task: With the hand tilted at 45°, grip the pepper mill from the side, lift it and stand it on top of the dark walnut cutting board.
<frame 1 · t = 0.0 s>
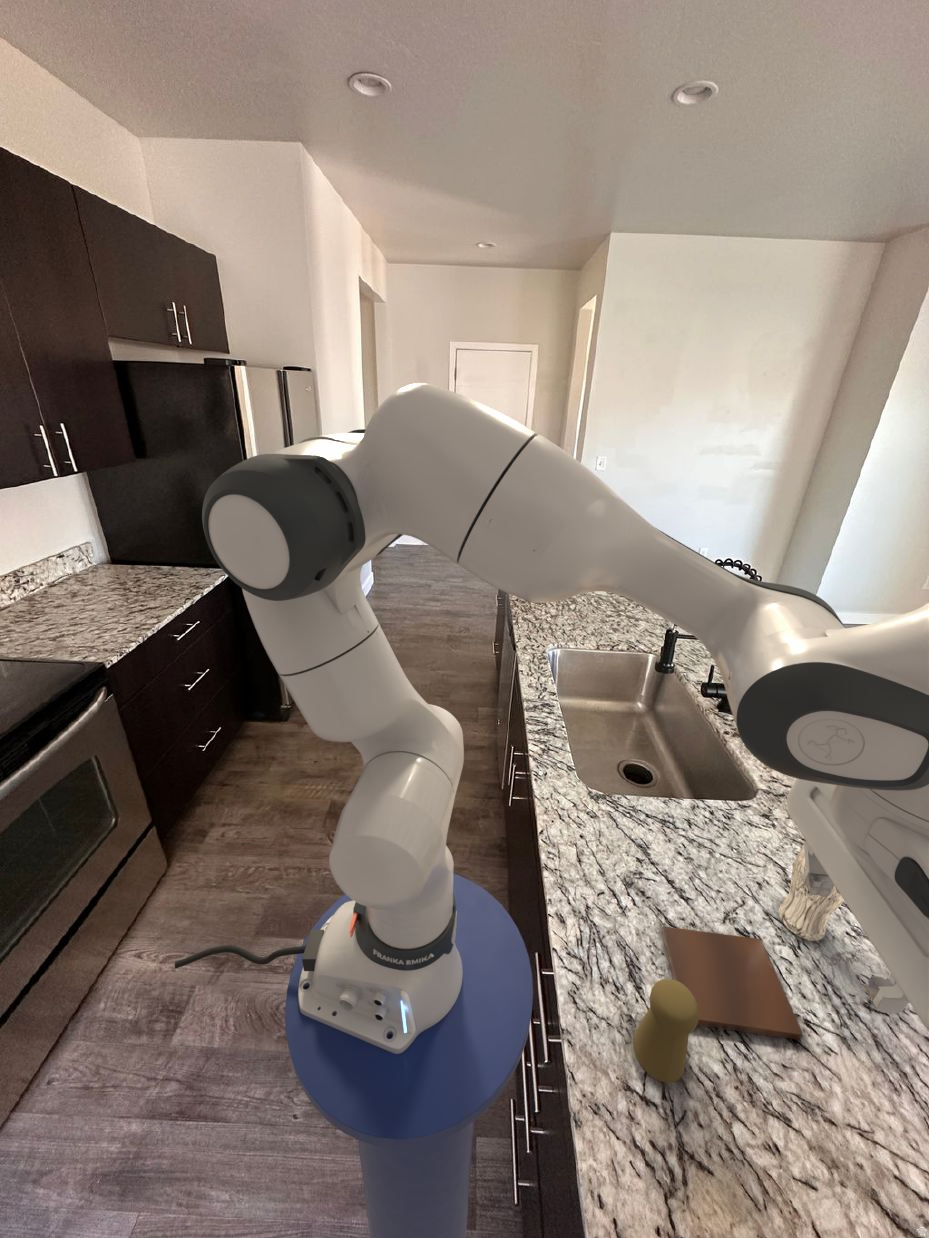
hand: (844, 939, 41), 31 cm above the countertop, tool pointing down, fingers open, 8 cm apart
beer glass: (800, 922, 75), on the countertop
pepper mill: (658, 1052, 59), on the countertop
cutting board: (724, 980, 67), on the countertop
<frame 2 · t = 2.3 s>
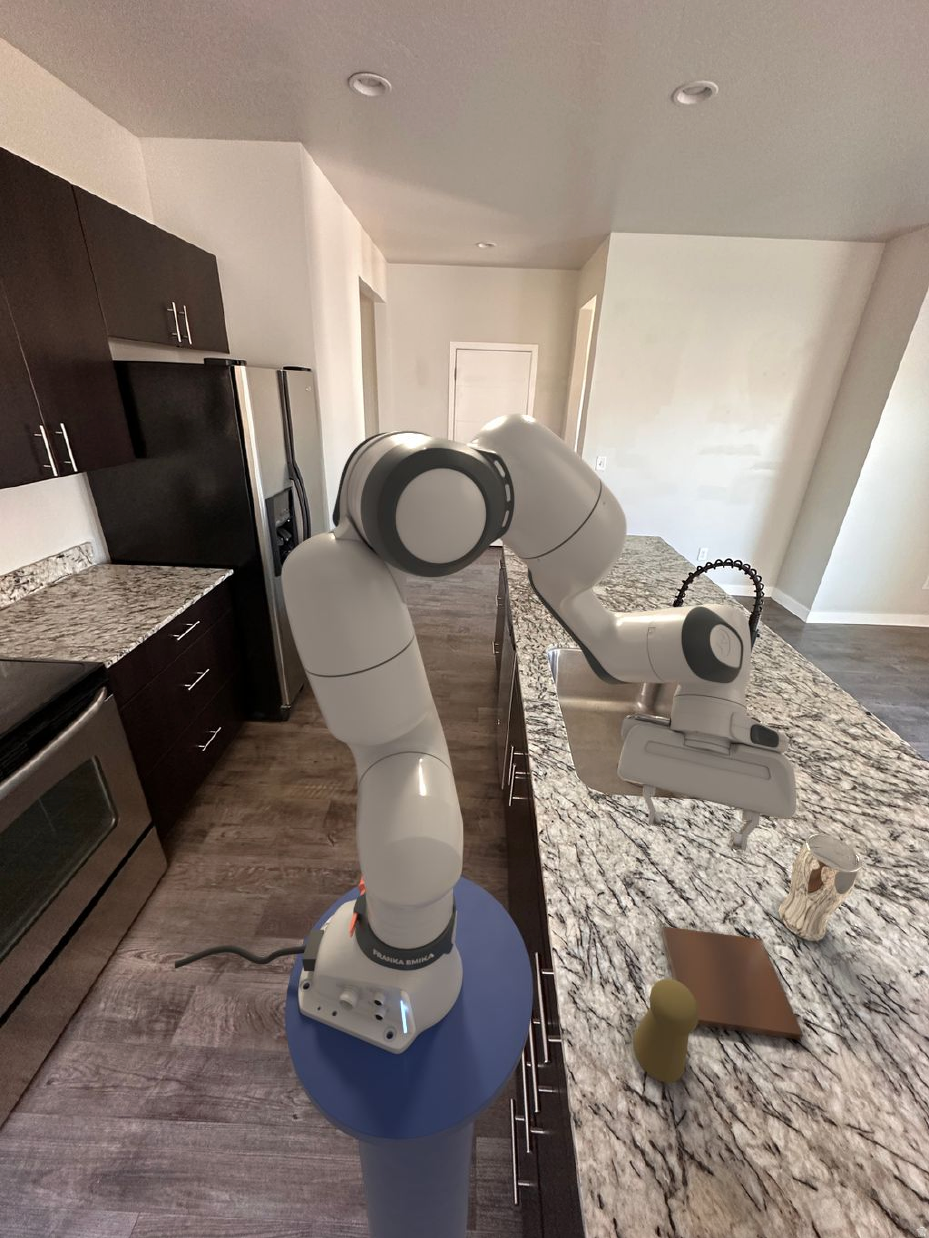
hand: (694, 837, 60), 24 cm above the countertop, tool tilted 45°, fingers open, 8 cm apart
nothing on the countertop moved.
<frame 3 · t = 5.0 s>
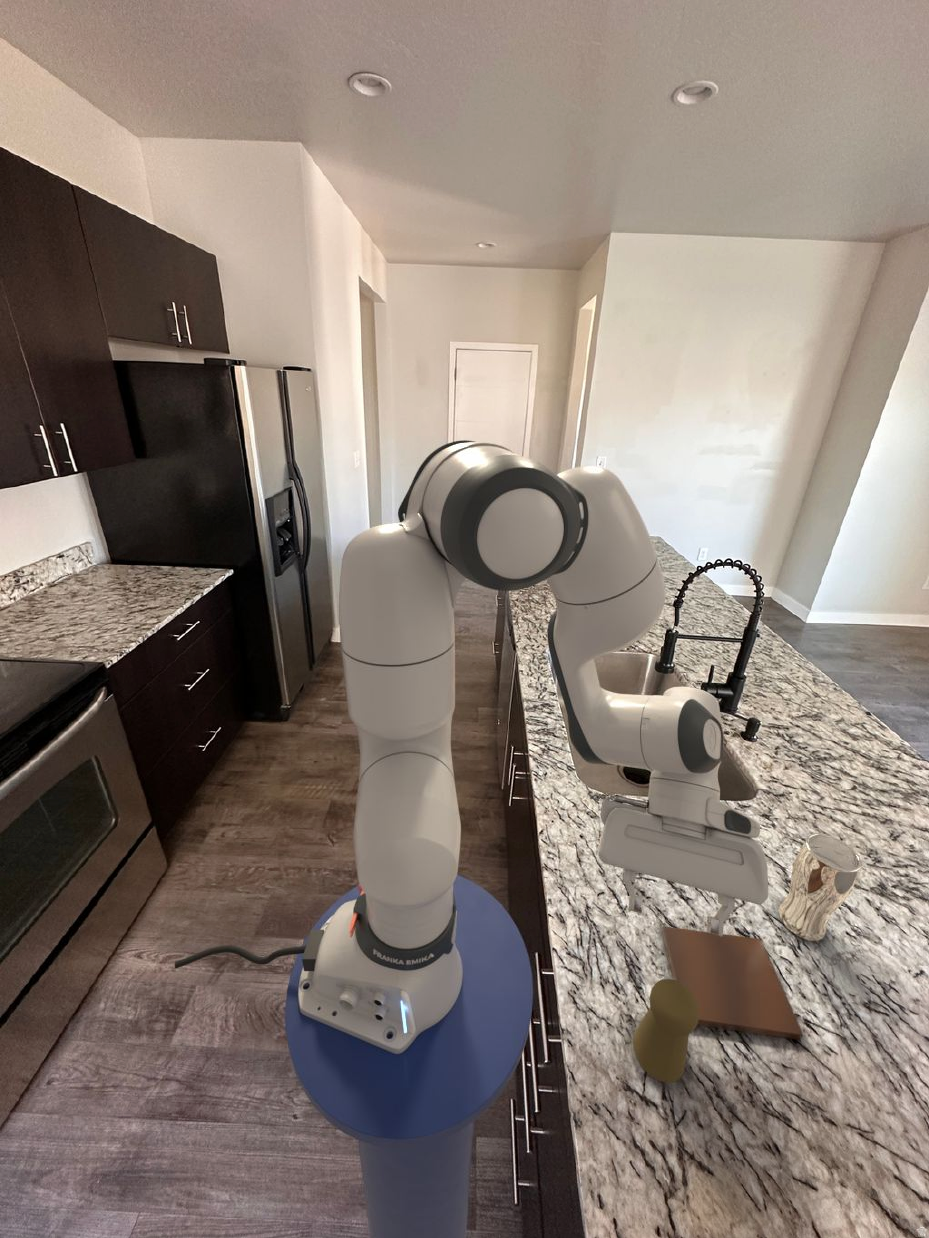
hand: (673, 922, 61), 12 cm above the countertop, tool tilted 45°, fingers open, 8 cm apart
nothing on the countertop moved.
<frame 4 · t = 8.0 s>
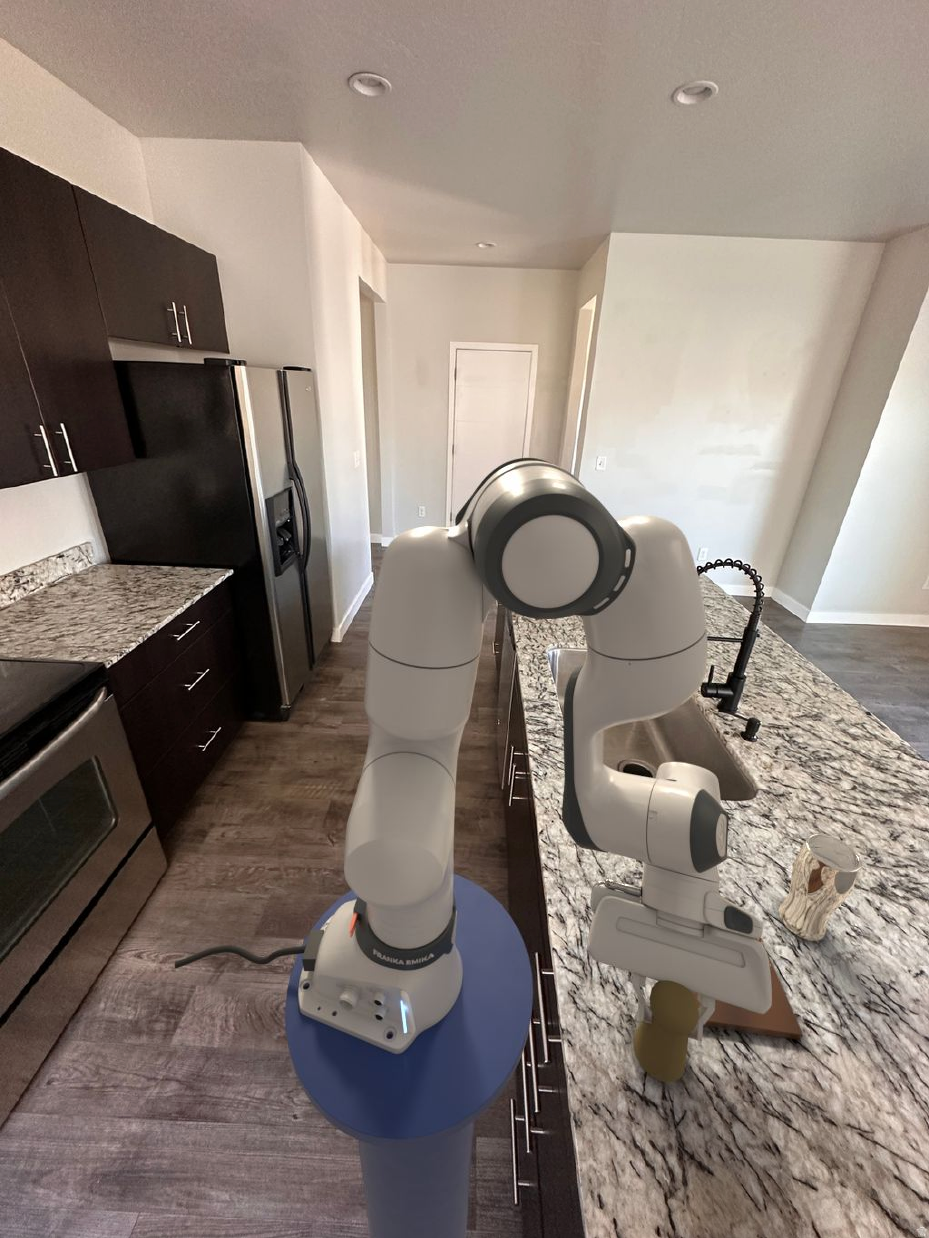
hand: (668, 1029, 56), 6 cm above the countertop, tool tilted 45°, fingers closed on pepper mill, 4 cm apart
pepper mill: (658, 1052, 59), on the countertop, touching gripper
everything else where it was.
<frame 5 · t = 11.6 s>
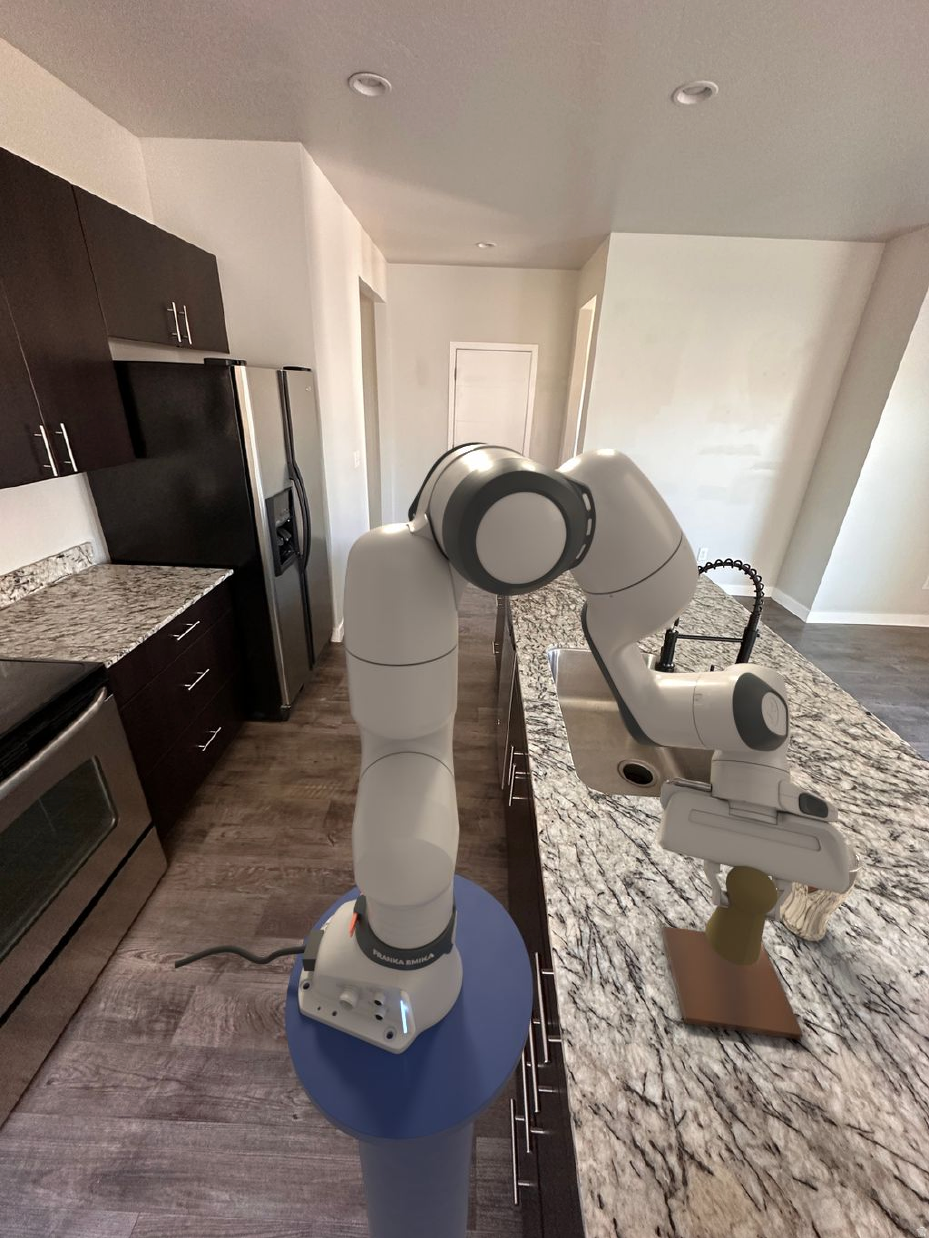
hand: (745, 913, 57), 18 cm above the countertop, tool tilted 45°, fingers closed on pepper mill, 4 cm apart
pepper mill: (731, 941, 60), point 12 cm above the countertop, touching gripper
everything else where it was.
when the fingers open (7 cm above the countertop, at t = 15.3 s): pepper mill stays where it is, resting on cutting board.
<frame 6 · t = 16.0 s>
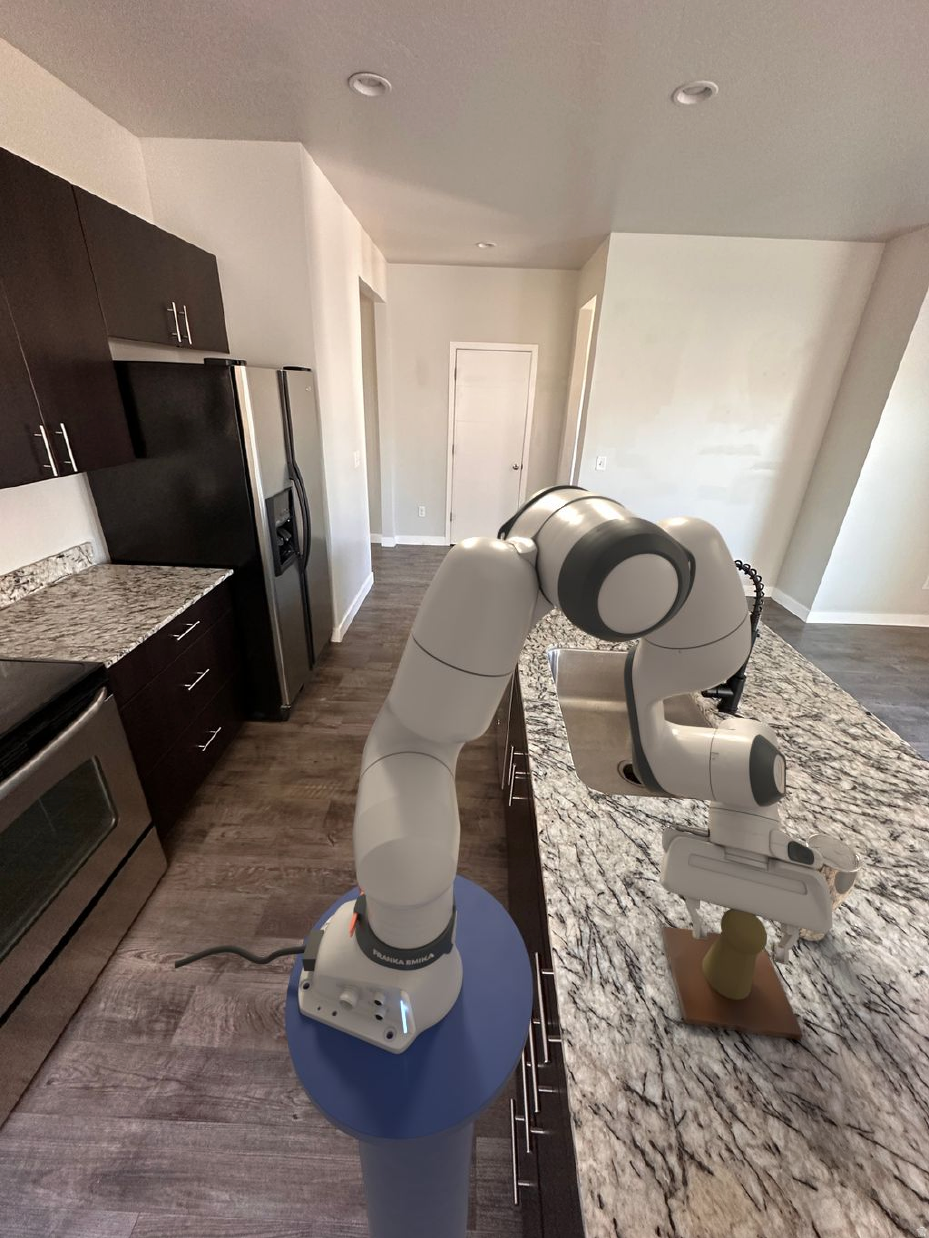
hand: (738, 950, 63), 7 cm above the countertop, tool tilted 45°, fingers open, 8 cm apart
pepper mill: (725, 975, 66), point 1 cm above the countertop, touching cutting board
everything else where it was.
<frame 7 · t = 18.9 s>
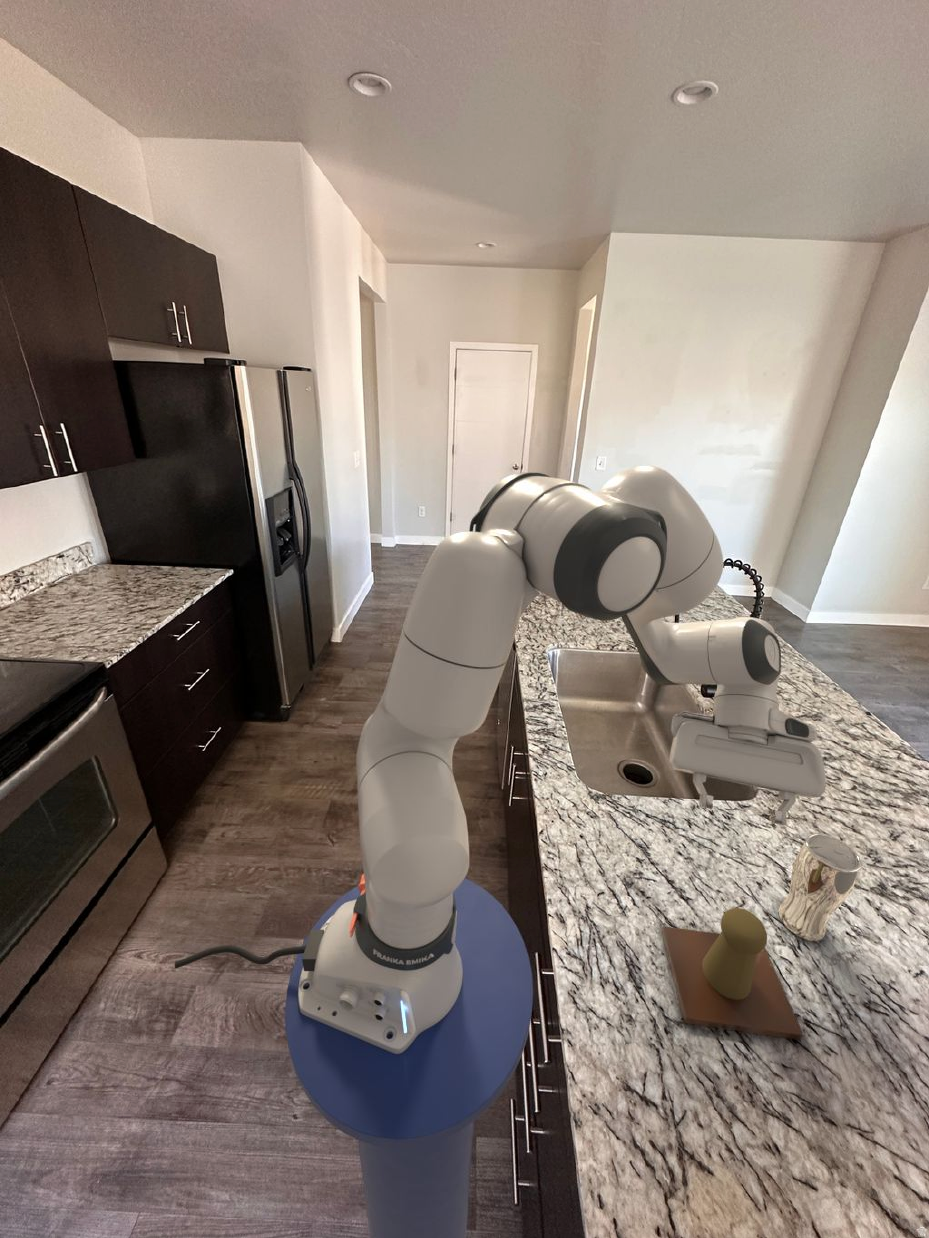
hand: (741, 815, 70), 18 cm above the countertop, tool tilted 45°, fingers open, 8 cm apart
nothing on the countertop moved.
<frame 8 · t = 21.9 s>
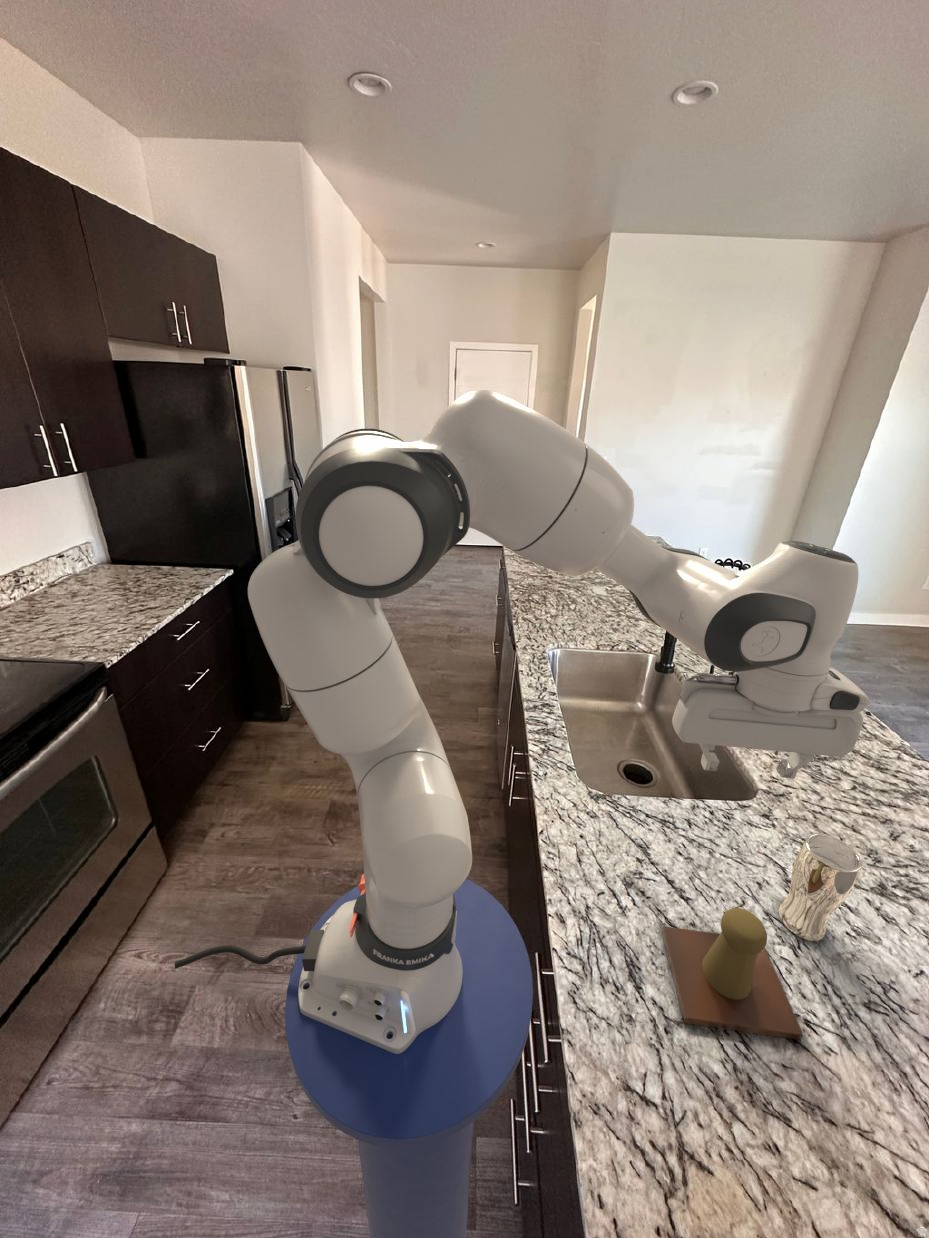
hand: (746, 771, 63), 29 cm above the countertop, tool pointing down, fingers open, 8 cm apart
nothing on the countertop moved.
at the end: pepper mill inside the target area on the cutting board (0.0 cm from its centre), point 1.0 cm above the cutting board's base; pepper mill tilted 0°; the gripper is holding nothing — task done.
